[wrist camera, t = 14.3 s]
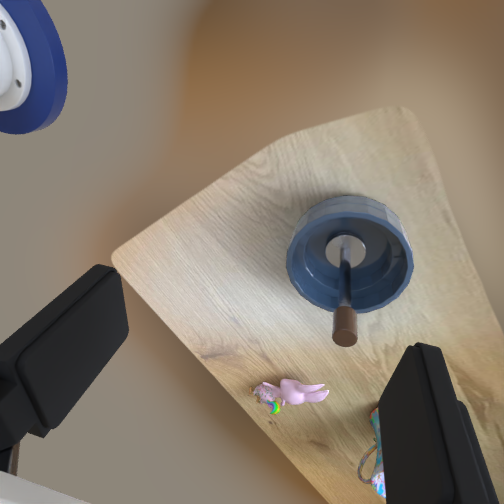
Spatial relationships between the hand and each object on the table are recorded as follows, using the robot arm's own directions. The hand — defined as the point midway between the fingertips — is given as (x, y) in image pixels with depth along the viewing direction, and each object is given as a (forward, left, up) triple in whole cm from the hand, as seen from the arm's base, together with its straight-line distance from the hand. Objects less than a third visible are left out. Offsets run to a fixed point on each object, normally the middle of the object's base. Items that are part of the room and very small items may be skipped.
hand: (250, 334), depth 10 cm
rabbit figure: (+23, -33, -28) cm, 49 cm away
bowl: (+11, -7, -28) cm, 31 cm away
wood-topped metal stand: (+11, -7, -28) cm, 31 cm away
